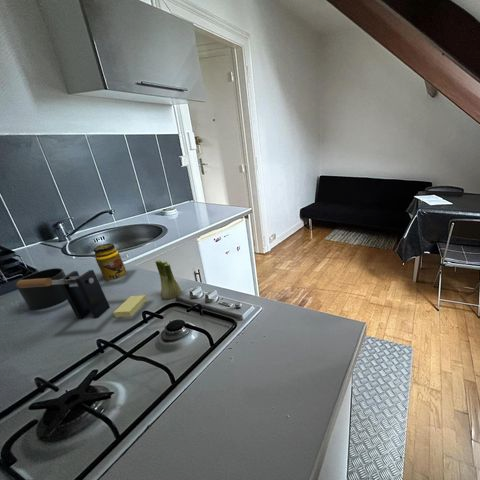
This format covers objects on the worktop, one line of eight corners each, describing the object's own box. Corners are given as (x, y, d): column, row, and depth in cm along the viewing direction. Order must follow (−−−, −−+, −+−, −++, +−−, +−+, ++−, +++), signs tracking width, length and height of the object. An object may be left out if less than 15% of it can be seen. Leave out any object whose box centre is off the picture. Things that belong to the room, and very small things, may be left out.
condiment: (123, 283, 84) (109, 249, 79) (93, 287, 82) (77, 253, 77) (133, 272, 90) (121, 240, 85) (105, 276, 89) (91, 244, 84)
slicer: (96, 332, 62) (74, 287, 57) (58, 335, 62) (32, 290, 57) (128, 302, 73) (112, 262, 68) (96, 304, 73) (77, 264, 68)
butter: (133, 320, 66) (129, 311, 64) (117, 322, 66) (112, 312, 64) (148, 303, 72) (145, 294, 71) (134, 304, 72) (130, 295, 71)
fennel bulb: (183, 301, 72) (171, 262, 68) (163, 307, 70) (150, 268, 65) (181, 291, 77) (170, 255, 72) (163, 297, 75) (149, 260, 70)
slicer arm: (43, 288, 53) (44, 276, 53) (16, 290, 53) (17, 278, 53) (95, 285, 65) (95, 275, 65) (72, 286, 65) (73, 277, 65)
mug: (78, 287, 83) (65, 261, 79) (74, 304, 74) (60, 276, 71) (37, 298, 78) (21, 272, 74) (28, 319, 69) (10, 290, 65)
